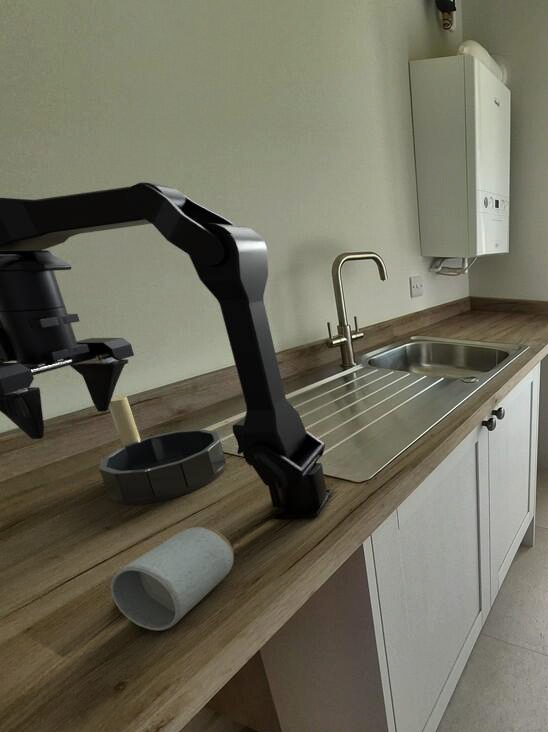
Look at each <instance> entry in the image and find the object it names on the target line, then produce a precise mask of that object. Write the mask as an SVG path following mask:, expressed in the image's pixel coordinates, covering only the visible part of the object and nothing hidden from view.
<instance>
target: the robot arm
mask: <svg viewBox="0 0 548 732" xmlns="http://www.w3.org/2000/svg"><path fill="white" fill-rule="evenodd" d="M145 225H152V226H153V227H155V228H156V230H157V231H158V232H159V233H160V234H161V235H162V237H163V238H164V239H165V240H166V241H168V243H170V244H172V245H173V246H175V247H176V248H178V249H180V250H181V251H182V252H184V253H185V254H187V255H188V257H189V259H190V261H191V264H192V265H193V268H194V270H195V272H196V275H197V277H198V280H200V282H201V283H202V284H203V285H204V286H205V288H206V289H207V290H208V291H209V292H210V294H211V295H212V296H213V297H214V298H215V299H216V301H217V302H218V304H219V308H220V312H221V316H222V318H223V322H224V327H225V330H226V334H227V338H228V341H229V346H230V349H231V354H232V357H233V361H234V365H235V368H236V373H237V376H238V381H239V384H240V388H241V391H242V396H243V399H244V403H245V407H246V408H245V409H246V411H245V416H244V417H243V418H241V419H240V420H238V421H237V422H235V423H234V424H233V425H232V434H233V435H234V437H235V440H236V442H237V452H236V453H237V454H238V455H240V454H243V458H244V461H245V462H246V464H247V465H249V466H252V468H253V470H254V471H255V472H256V473H257V475H258V476H259V478H260V480H261V482H262V483H263V484H264V486H267V487H268V491H269V496H270V501H271V504H272V507H275V508H281V509H282V511H280V512H279V513H277V514H276V515H274V516H273V517H272V518H271V519H272V520H281V519H282V520H284V519H305V518H306V519H307V518H316V517H318V516H319V515H320V513H321V511H322V510H323V508H324V506H326V503H327V502H328V500H329V498H330V496H332V489H327V487H326V486H327V485H326V480H325V474H324V468H323V463H322V462H318V461H319V460H320V458H321V457H323V456H324V452H325V447H326V444H325V443H324V442H323V441H322V440H320V439H319V438H318V437H316V436H314V434H312V433H310V432H309V431H308V430H306V428H305V425H304V423H303V421H302V418H301V416H300V413H299V412H298V410H297V409H296V408H295V407H294V406H293V405H292V404H291V403H290V402H289V401H288V399H287V397H286V394H285V389H284V385H283V380H282V376H281V371H280V368H279V367H280V366H279V362H278V359H277V354H276V349H275V346H274V345H275V344H274V340H273V337H272V336H273V335H272V332H271V331H272V330H271V327H270V323H269V318H268V314H267V309H266V306H265V305H266V304H265V301H264V295H265V291H266V287H267V286H266V285H267V282H268V277H269V260H268V257H269V256H268V248H267V245H266V242H265V240H264V238H263V237H262V236H261V235H259V234H258V233H257V232H256V231H254V230H253V229H252V228H249V227H248V226H245V225H244V226H243V225H237V224H234V222H232V221H230V220H229V219H228V218H226V217H224V216H222V215H220V214H218V213H216V212H214V211H212V210H210V209H209V208H207V207H205V206H203V205H201V204H199V203H198V202H196V201H194V200H193V199H191V198H190V197H188V196H187V195H185V194H184V193H182V192H181V191H179V190H178V189H177V188H173V187H172V186H167V185H162V184H157V183H151V182H143V181H142V182H141V181H140V182H137V183H136V184H133V185H131V186H124V187H123V186H122V187H116V188H109V189H101V190H94V191H90V192H88V191H87V192H81V193H74V194H67V195H66V194H65V195H59V196H52V197H45V198H38V199H27V198H26V199H25V198H12V197H0V413H2V414H3V415H4V416H5V417H6V418H8V419H9V420H10V421H11V422H12V423H13V424H15V426H16V427H17V428H19V429H20V430H21V431H22V432H23V433H25V434H26V435H27V436H28V437H29V438H30V439H31V440H41V439H43V438H44V436H45V435H44V434H45V424H44V423H45V421H44V415H43V407H42V405H43V404H42V398H41V397H42V396H41V388H40V387H39V386H37V387H36V386H35V387H32V386H31V385H32V383H33V381H34V379H35V377H34V376H36V375H40V374H44V373H47V372H50V371H54V370H57V369H61V368H65V367H68V366H70V368H72V369H73V370H74V371H76V372H77V373H78V374H79V375H80V376H82V378H83V380H84V383H85V385H86V388H87V390H88V393H89V396H90V398H91V401H92V404H93V405H94V406H95V408H96V411H97V412H101V413H102V412H107V411H108V410H109V405H110V401H111V398H113V395H114V392H115V389H116V387H117V383H118V382H119V379H120V376H121V374H122V372H123V370H124V367H125V365H126V364H129V359H127V358H131V357H134V356H135V353H134V350H133V346H132V344H131V342H129V340H127V339H126V338H123V337H89V338H85V339H81V340H77V338H76V335H75V332H74V329H73V326H72V323H79V322H80V318H79V314H78V313H68V311H67V307H66V304H65V302H64V298H63V295H62V293H61V289H60V286H59V282H58V280H57V276H56V274H55V271H70V270H72V268H73V267H72V265H71V264H70V263H69V262H66V261H65V260H64V259H61V258H59V257H57V256H56V255H54V254H53V253H52V252H51V251H50V250H47V249H50V248H52V247H56V246H58V245H61V244H64V243H65V242H66V241H68V240H69V238H72V237H75V236H77V235H81V234H87V233H95V232H102V231H108V230H109V231H110V230H115V229H123V228H130V227H138V226H145Z"/></svg>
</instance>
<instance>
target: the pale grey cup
mask: <svg viewBox="0 0 548 732" xmlns="http://www.w3.org/2000/svg"><path fill="white" fill-rule="evenodd" d="M233 549H234V548H233V546H232V544H231V543H230V541H229V540H228V538H227V537H226V536H224V534H222V533H221V532H219V531H218V530H216V529H215V528H211V527H209V526H204V525H198V526H193V527H190V528H187V529H184V530H183V531H180V532H178V533H176V534H175V535H173V536H171V537H170V538H168V539H167V540H166V541H164V542H162V543H161V544H159V545H158V546H157V545H156V547H154V548H152V549H151V550H149V551H148V552H146V553H144V554H142V555H141V556H139V557H138V558H136V559H134V560H133V561H131V562H129V563H128V564H126V565H125V566H123V567H121V568H120V569H119V570H118V571H117V572H116V573H115V574H114V575H113V576H112V578H111V581H110V593H111V598H112V599H113V602H114V603H115V605H116V606H117V608H118V610H119V611H120V612H121V613H122V614H123V615H124V616H125V617H126V618H127V619H128V620H129V621H130V622H132V623H134V624H135V625H137V626H139V627H141V628H144V629H147V630H150V631H160V632H161V631H165V630H168V629H171V628H172V627H173V626H175V625H176V624H177V623H178V622H179V621H181V620H182V618H183V617H184V616H186V614H188V613H189V612H190V611H191V610H192V609H193V608H194V607H195V606H196V605H197V604H199V602H201V600H203V599H204V597H206V596H207V595H208V594H209V593H210V592H211V591H212V590H213V589H215V588H216V586H218V585H219V584H220V583H221V582H222V581H223V580H224V579H225V578H226V576H227V575H228V574H229V572H230V571H231V569H232V567H233V566H234V562H235V552H234V550H233Z"/></svg>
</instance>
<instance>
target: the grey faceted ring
mask: <svg viewBox="0 0 548 732" xmlns="http://www.w3.org/2000/svg"><path fill="white" fill-rule="evenodd" d="M108 410H109V411H110V414H111V417H112V420H113V423H114V425H115V428H116V432H117V434H118V438H119V440H120V444H121V446H120V447H119V448H117V449H115V450H114V451H112V452H111V453H109V454H108V455H106V456H104V457H103V458H101V461H100V463H99V467H98V471H99V473H100V475H101V478H102V481H103V483H104V486H105V489H106V491H107V494H108V496H110V497H111V499H112V500H113V501H114V502H115V503H118V504H121V505H129V506H137V505H139V506H140V505H149V504H154V503H159V502H164V501H169V500H171V499H175V498H178V497H183V496H185V495H187V494H189V493H192V492H194V491H197V490H199V489H201V488H204V487H205V486H207V485H209V484H210V483H212V482H213V481H215V480H216V479H217V478H219V477H220V476H221V475H222V474H223V473H224V472H225V470H226V469H227V462H226V458H225V453H224V450H223V446H222V443H221V438H220V434H219V433H218V432H217V431H213V430H208V429H204V428H200V429H199V428H197V429H186V430H185V429H183V430H175V431H170V432H165V433H161V434H155V435H151V436H147V437H145V438H141V436H140V432H139V429H138V427H137V423H136V420H135V418H134V415H133V412H132V409H131V406H130V403H129V399H128V396H127V395H120V396H115V397H113V396H112V398H111V401H110V405H109V408H108Z"/></svg>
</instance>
